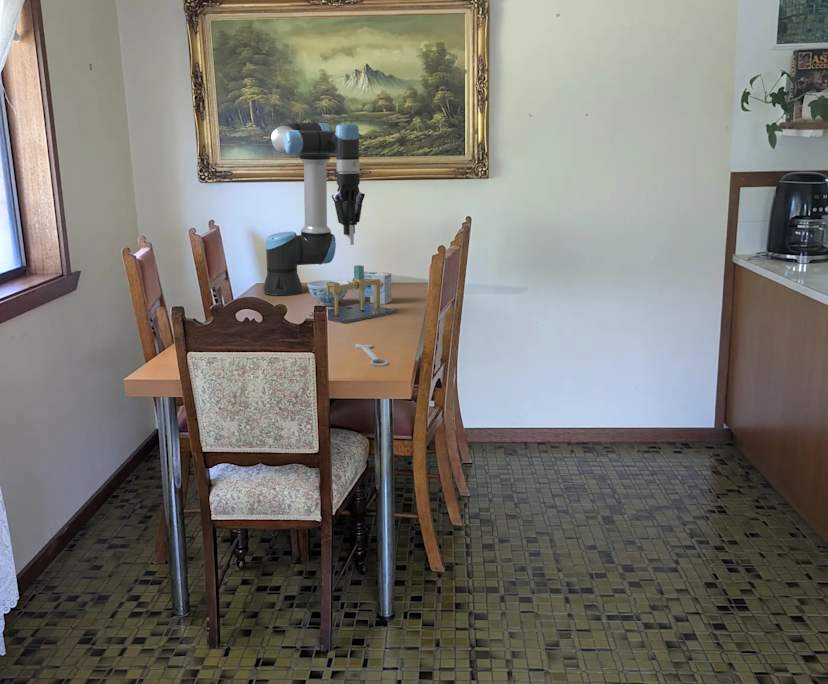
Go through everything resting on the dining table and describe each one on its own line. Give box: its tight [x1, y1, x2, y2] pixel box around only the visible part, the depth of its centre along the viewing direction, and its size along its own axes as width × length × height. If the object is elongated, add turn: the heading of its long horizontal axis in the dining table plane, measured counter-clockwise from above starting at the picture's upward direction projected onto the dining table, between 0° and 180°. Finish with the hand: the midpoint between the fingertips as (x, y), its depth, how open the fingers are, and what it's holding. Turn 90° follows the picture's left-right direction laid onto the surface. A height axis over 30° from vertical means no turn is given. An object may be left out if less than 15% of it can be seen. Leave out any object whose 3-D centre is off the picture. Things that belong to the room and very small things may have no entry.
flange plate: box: [311, 302, 397, 324], centre depth 295 cm, size 18×24×1 cm
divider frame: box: [326, 279, 381, 316], centre depth 295 cm, size 4×22×11 cm, turn 136°
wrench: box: [354, 343, 389, 367], centre depth 241 cm, size 25×2×5 cm
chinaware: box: [307, 279, 349, 307], centre depth 312 cm, size 15×15×8 cm
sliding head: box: [352, 264, 366, 310], centre depth 295 cm, size 4×2×15 cm, turn 46°
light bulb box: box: [358, 270, 393, 305], centre depth 316 cm, size 11×7×11 cm, turn 70°
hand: (349, 244), depth 287 cm, fingers closed
